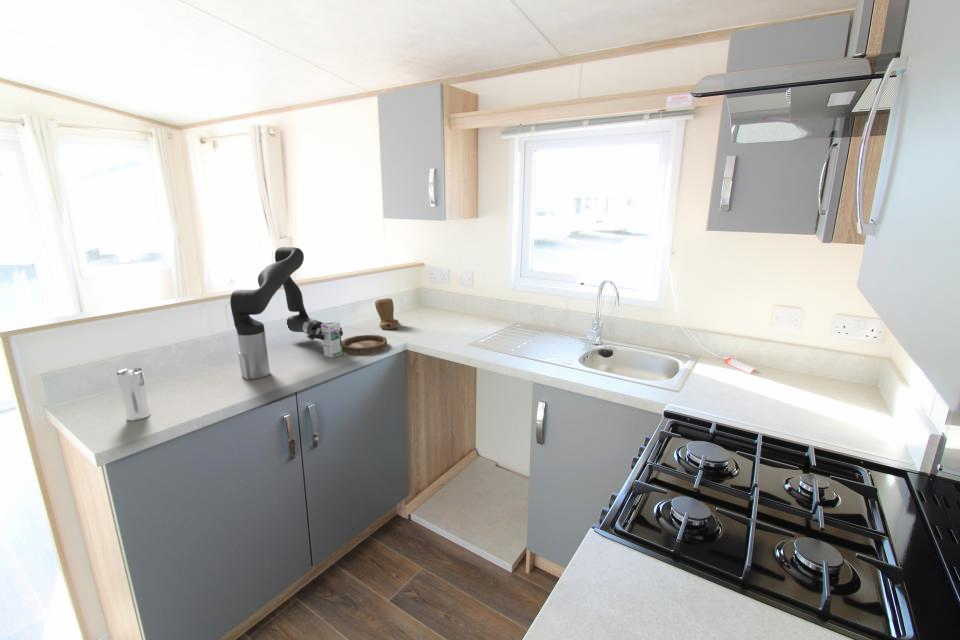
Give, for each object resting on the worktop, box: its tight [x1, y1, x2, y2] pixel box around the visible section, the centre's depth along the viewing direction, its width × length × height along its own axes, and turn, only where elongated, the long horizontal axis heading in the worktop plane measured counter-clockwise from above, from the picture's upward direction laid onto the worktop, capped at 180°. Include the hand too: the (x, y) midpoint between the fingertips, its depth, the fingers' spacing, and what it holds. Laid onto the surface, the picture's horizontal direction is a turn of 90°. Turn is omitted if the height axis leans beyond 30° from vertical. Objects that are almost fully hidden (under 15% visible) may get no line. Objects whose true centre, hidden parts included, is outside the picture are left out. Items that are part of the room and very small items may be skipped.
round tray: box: [341, 334, 388, 356], centre depth 206 cm, size 20×20×3 cm
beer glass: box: [115, 367, 152, 422], centre depth 140 cm, size 7×7×15 cm
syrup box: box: [321, 320, 344, 359], centre depth 195 cm, size 6×6×14 cm
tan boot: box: [374, 297, 399, 330], centre depth 239 cm, size 15×12×15 cm
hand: (332, 335), depth 194 cm, fingers open, 8 cm apart
